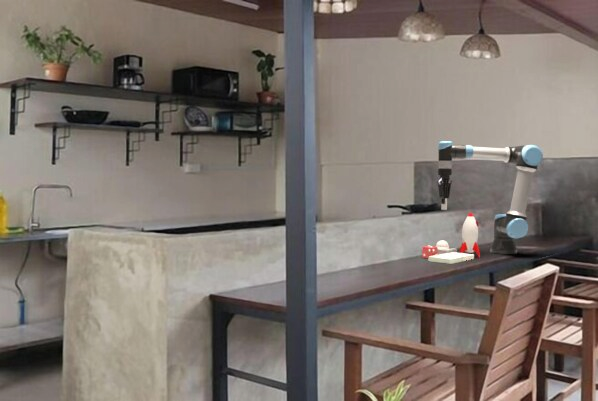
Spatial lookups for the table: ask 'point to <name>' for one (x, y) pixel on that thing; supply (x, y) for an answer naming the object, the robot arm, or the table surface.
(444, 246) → the dome
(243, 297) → the table surface
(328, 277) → the table surface
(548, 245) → the table surface
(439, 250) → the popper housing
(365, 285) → the table surface
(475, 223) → the rocket
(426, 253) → the red die
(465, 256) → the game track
